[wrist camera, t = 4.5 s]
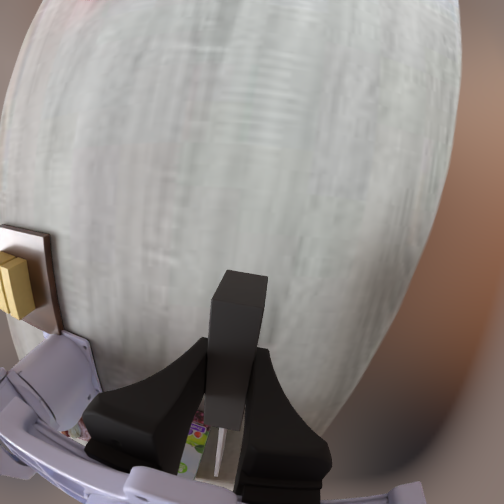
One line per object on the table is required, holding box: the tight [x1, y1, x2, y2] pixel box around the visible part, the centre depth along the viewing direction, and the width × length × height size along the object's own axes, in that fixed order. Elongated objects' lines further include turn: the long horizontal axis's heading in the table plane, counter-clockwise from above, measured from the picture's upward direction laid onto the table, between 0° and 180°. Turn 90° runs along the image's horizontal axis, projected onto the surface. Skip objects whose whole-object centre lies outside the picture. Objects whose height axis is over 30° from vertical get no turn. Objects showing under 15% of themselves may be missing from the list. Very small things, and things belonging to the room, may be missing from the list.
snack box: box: [177, 411, 211, 480], centre depth 22 cm, size 21×6×15 cm, turn 163°
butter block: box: [0, 251, 16, 314], centre depth 21 cm, size 6×4×3 cm, turn 172°
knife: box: [204, 270, 268, 477], centre depth 14 cm, size 16×2×3 cm, turn 172°
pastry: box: [61, 417, 91, 442], centre depth 28 cm, size 8×8×5 cm
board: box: [0, 224, 64, 336], centre depth 23 cm, size 12×10×1 cm
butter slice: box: [0, 257, 36, 320], centre depth 21 cm, size 6×2×3 cm, turn 172°
